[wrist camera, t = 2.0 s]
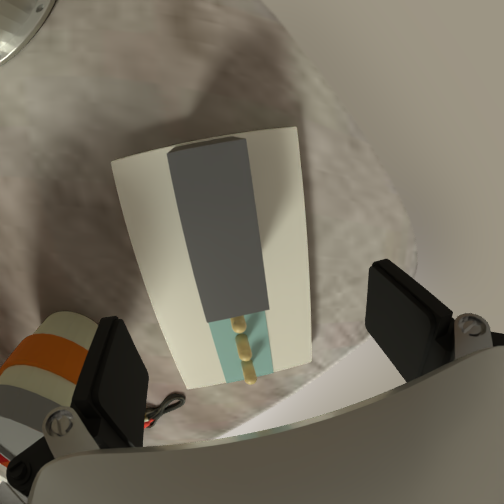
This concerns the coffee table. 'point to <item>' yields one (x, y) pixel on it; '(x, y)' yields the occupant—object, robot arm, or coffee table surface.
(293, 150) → the board
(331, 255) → the coffee table surface
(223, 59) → the coffee table surface
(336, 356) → the coffee table surface
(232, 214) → the block
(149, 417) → the composite cable
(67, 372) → the reusable coffee cup
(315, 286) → the coffee table surface
